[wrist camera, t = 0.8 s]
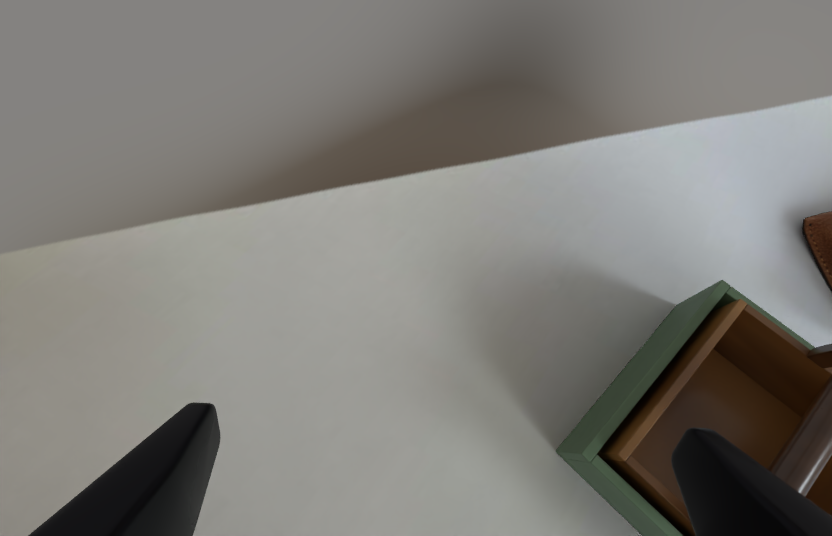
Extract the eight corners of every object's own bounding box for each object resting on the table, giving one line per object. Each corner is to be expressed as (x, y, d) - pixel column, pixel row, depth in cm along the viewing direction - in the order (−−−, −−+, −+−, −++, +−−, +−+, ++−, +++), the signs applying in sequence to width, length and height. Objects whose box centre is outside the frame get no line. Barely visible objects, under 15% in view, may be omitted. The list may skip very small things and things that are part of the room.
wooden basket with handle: (685, 322, 26) (796, 271, 18) (814, 422, 23) (1004, 413, 16) (579, 453, 23) (653, 460, 16) (710, 577, 21) (873, 658, 13)
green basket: (676, 304, 26) (722, 279, 22) (831, 424, 24) (916, 420, 20) (555, 451, 24) (580, 453, 20) (713, 604, 21) (783, 645, 17)
